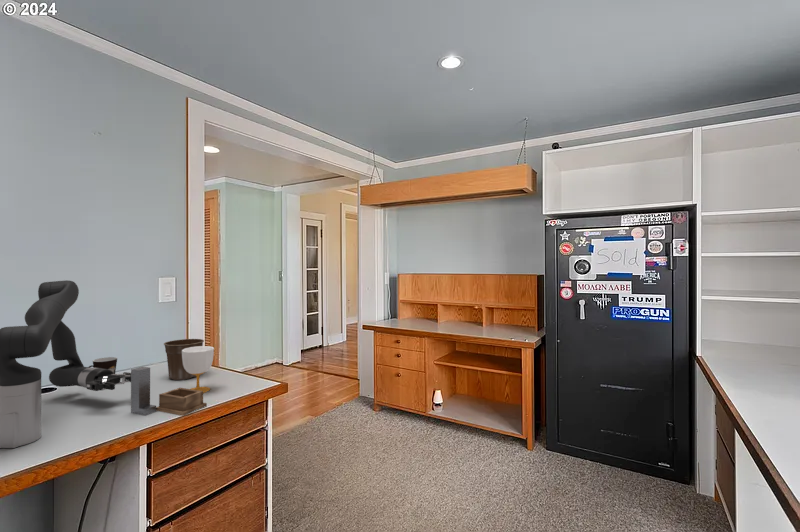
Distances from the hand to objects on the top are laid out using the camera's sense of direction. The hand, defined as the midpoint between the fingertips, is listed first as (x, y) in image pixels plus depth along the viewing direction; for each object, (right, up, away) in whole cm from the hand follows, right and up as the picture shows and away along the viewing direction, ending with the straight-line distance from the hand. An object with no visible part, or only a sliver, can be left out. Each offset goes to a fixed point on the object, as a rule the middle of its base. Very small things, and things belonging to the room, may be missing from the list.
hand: (126, 383), depth 140 cm
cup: (+15, -9, +20) cm, 27 cm away
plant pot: (-2, -9, +41) cm, 42 cm away
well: (+19, -9, +1) cm, 21 cm away
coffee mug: (-32, -9, +30) cm, 45 cm away
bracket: (+8, -9, -3) cm, 13 cm away
